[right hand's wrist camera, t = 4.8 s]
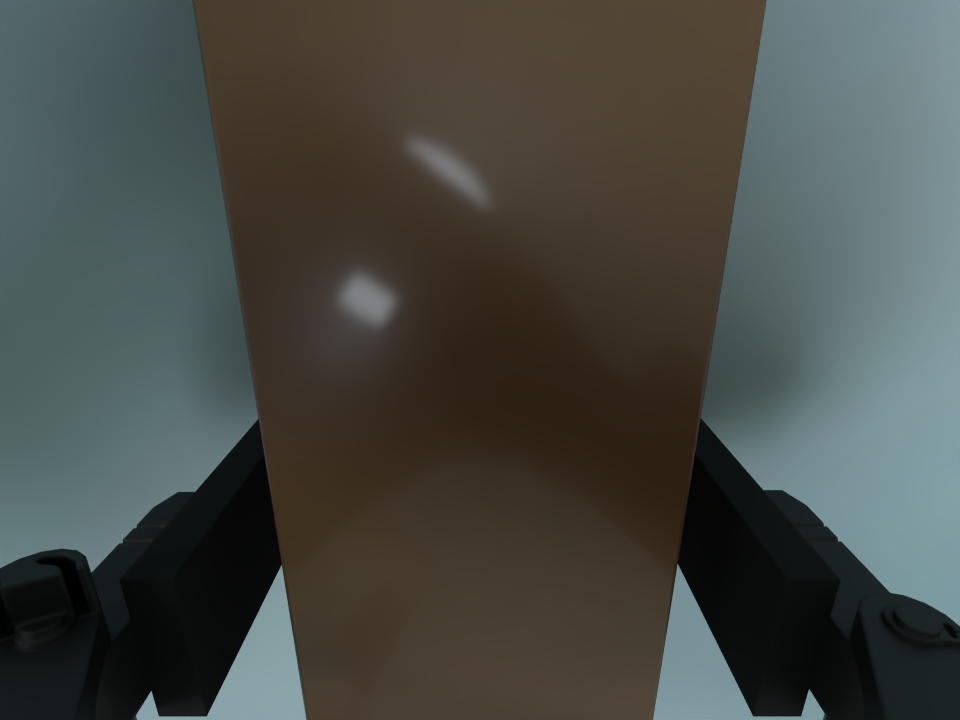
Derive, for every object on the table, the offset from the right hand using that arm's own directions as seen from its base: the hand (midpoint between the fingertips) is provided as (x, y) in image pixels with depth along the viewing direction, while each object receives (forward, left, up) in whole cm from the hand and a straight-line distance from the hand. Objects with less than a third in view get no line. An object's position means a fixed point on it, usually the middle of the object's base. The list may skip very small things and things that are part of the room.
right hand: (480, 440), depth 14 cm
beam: (+25, +11, -1) cm, 27 cm away
